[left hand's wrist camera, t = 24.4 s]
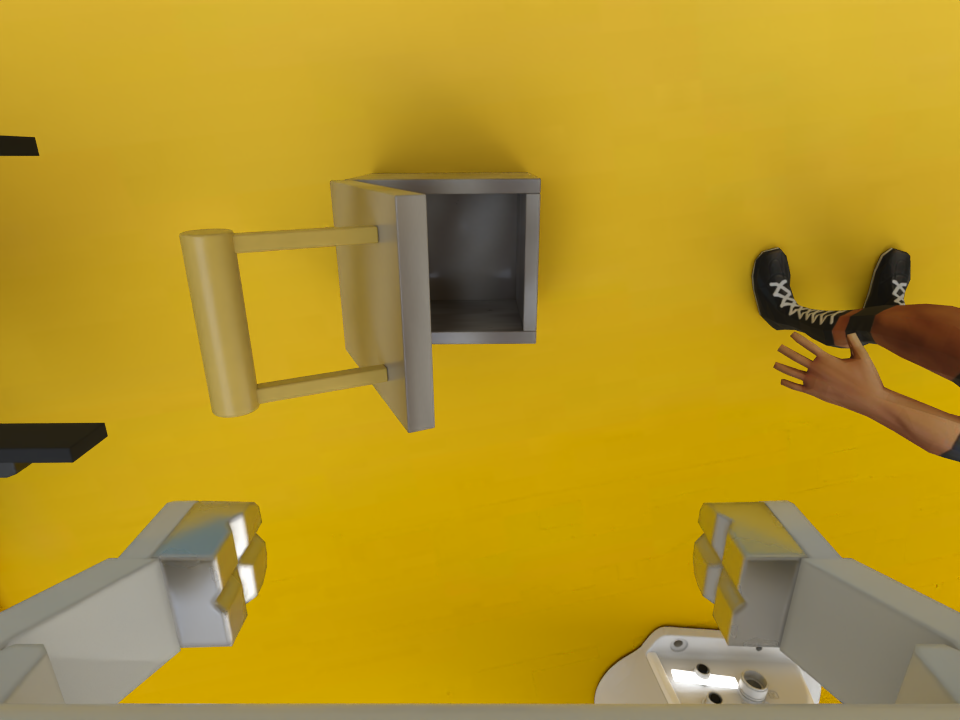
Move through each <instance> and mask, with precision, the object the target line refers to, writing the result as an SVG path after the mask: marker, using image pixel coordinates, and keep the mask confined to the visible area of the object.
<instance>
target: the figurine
mask: <svg viewBox="0 0 960 720" xmlns="http://www.w3.org/2000/svg"><path fill="white" fill-rule="evenodd" d="M909 281H910V255H909V254H908V253H907V252H904V251H900V250H897V249H893V248H890V249H889V250H887V251H886V252H885V253H883V254H882V255H881V256H880V259H879V261H878V263H877V265H876V267H875V269H874V273H873V276H872V280H871V284H870V288H869V292H868V295H867V298H866V301H865V304H864V307H863V308H862V309H857V310H845V311H822V310H814V309H809V308H805V307H802V306H799V305H798V304H797V303H796V301H795V300H794V297H793V294H792V291H791V288H790V271H789V266H788V262H787V257H786V255H785V254H784V253H783V252H782V250H781V249H780V248H774V249H770V250H766V251H762V252H761V254H760V255H759V256H758V258H757V259H756V260H755V263H754V268H753V272H752V283H753V291H754V295H755V298H756V302H757V306H758V310H759V314H760V315H761V316H762V317H763V318H764V319H765V320H766V321H767V322H768V324H769V325H771V326H772V327H773V328H774V329H776V330H797V331H800V332H804V333H806V334H807V335H808V336H810V337H811V338H813V339H815V340H817V341H819V342H821V343H823V344H825V345H827V346H832V347H838V348H850V351H851V357H850V358H847V359H840V358H837V357H834V356H832V355H830V354H828V353H826V352H824V351H823V350H822V349H820V348H819V347H818V346H817V345H815V344H814V343H812V342H811V341H809V340H808V339H806V338H805V337H803V336H801V335H800V334H798V333H796V332H794V333H793V334H792V335H791V337H792V338H793V339H794V340H795V341H796V342H797V343H799V344H800V345H802V346H803V347H804V348H806V349H807V350H809V351H810V352H812V353H813V354H815V355H816V356H817V357H816V358H815V359H814V361H812V360H810V359H808V358H806V357H804V356H802V355H800V354H799V353H797V352H795V351H793V350H791V349H789V348H788V347H786V346H784V345H781V346H780V348H779V349H778V350H777V351H779V352H781V353H782V354H784V355H785V356H787V357H789V358H790V359H792V360H793V361H795V362H797V363H799V364H801V365H803V366H805V367H807V368H808V370H807V372H805V371H802V370H798V369H796V368H792V367H789V366H786V365H783V364H780V363H777V362H776V363H775V365H774V367H773V368H775V369H777V370H779V371H781V372H783V373H785V374H787V375H790V376H792V377H795V378H798V379H800V380H802V381H803V385H801V384H797V383H794V382H791V381H788V380H785V379H781V385H784V386H786V387H788V388H791V389H793V390H797V391H801V392H804V393H807V394H810V395H812V396H815V397H817V398H819V399H821V400H823V401H826V402H829V403H832V404H835V405H838V406H841V407H844V408H847V409H849V410H852V411H855V412H857V413H860V414H862V415H865V416H867V417H869V418H871V419H873V420H875V421H877V422H878V423H880V424H882V425H884V426H886V427H887V428H889V429H891V430H893V431H895V432H896V433H898V434H899V435H901V436H903V437H904V438H906V439H908V440H909V441H911V442H912V443H914V444H916V445H917V446H919V447H921V448H922V449H924V450H926V451H927V452H929V453H932V454H935V455H938V456H941V457H944V458H948V459H951V460H955V461H959V462H960V416H956V415H953V414H949V413H946V412H944V411H941V410H939V409H937V408H934V407H932V406H929V405H927V404H924V403H922V402H919V401H917V400H914V399H912V398H909V397H907V396H904V395H902V394H899V393H897V392H894V391H891V390H889V389H887V388H885V387H884V386H883V384H882V381H881V379H880V377H879V374H878V372H877V370H876V368H875V366H874V364H873V362H872V361H871V359H870V357H869V355H868V353H867V351H866V350H865V348H864V347H863V346H864V345H866V344H868V343H872V344H878V345H880V346H882V347H884V348H886V349H888V350H889V351H891V352H893V353H895V354H896V355H898V356H900V357H902V358H904V359H906V360H909V361H911V362H913V363H915V364H917V365H919V366H922V367H924V368H926V369H928V370H930V371H932V372H934V373H936V374H938V375H940V376H942V377H944V378H946V379H948V380H950V381H952V382H954V383H955V384H957V385H958V386H959V387H960V308H957V307H953V306H945V305H933V304H915V305H905V303H904V294H905V290H906V288H907V286H908V284H909Z"/></svg>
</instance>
